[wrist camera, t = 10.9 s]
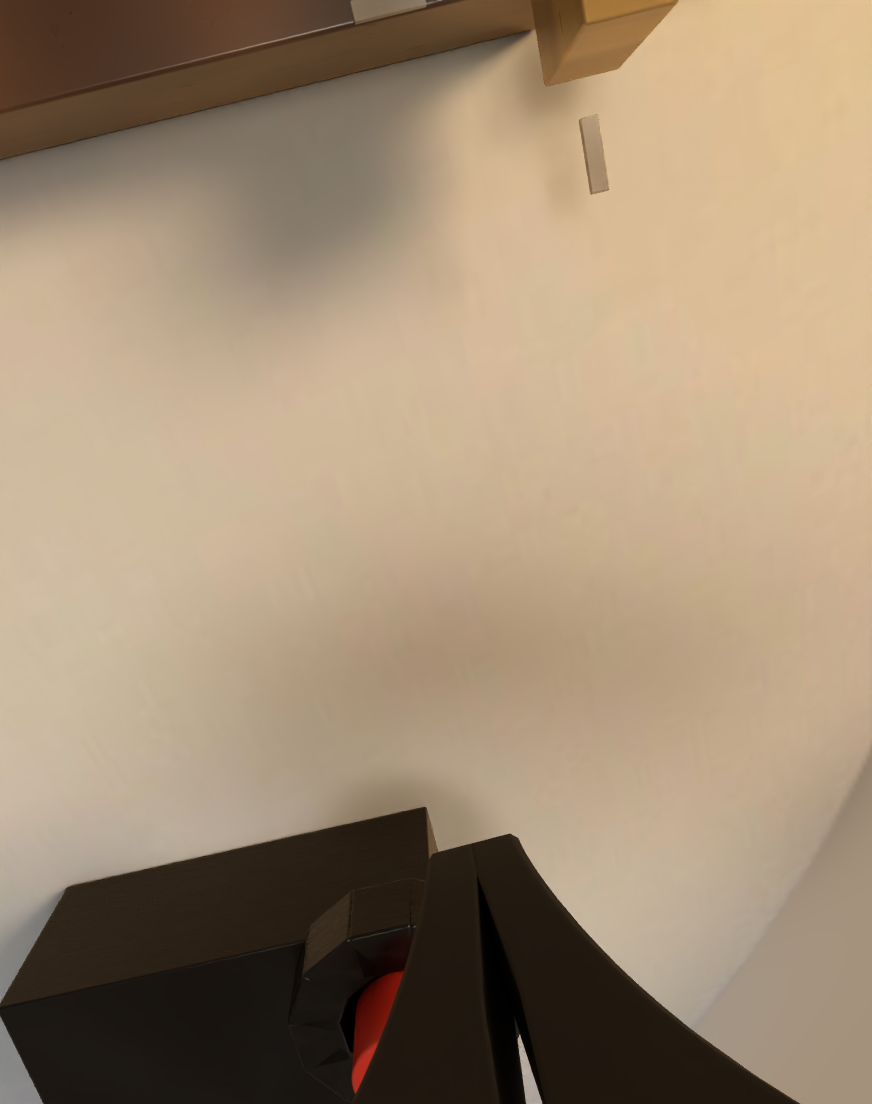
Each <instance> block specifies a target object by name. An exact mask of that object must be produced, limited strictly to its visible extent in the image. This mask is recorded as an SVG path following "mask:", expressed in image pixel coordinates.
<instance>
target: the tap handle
mask: <svg viewBox="0 0 872 1104" xmlns="http://www.w3.org/2000/svg"><path fill="white" fill-rule="evenodd" d="M677 3H678V0H531V5H532V11H533V17H534V23H535V29H536V35H537V41H538V47H539V53H540V59H541V65H542V71H543V77H544V83H545V85H546V86H550V85H555V84H559V83H563V82H567V81H571V80H575V79H579V78H583V77H587V76H592V75H596V74H600V73H604V72H608V71H612V70H616V69H618V68H620V66H621V65H622V64H623V63H624V62H625V61H626V60H627V59H628V57H629V56H630V55H631V54H632V53H633V52H634V51H635V50H636V49H637V47H638V46H639V45H640V44H641V43H642V42H643V41H644V40H645V39H646V37H647V36H648V35H649V34H650V33H651V32H652V31H653V30H654V28H655V27H656V26H657V25H658V24H659V23H660V22H661V21H662V20H663V18H664V17H665V16H666V15H667V14H668V13H669V12H670V11H671V9H672V8H673V7H674V6H675V5H676V4H677Z"/></svg>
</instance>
